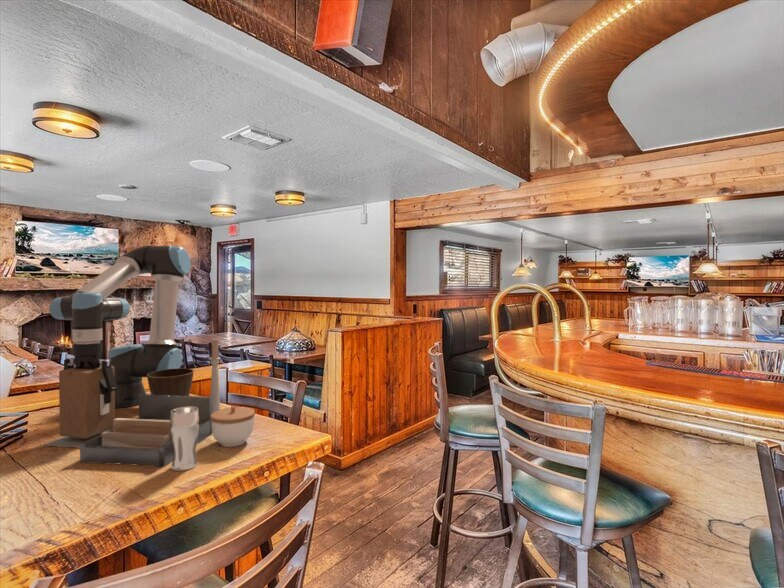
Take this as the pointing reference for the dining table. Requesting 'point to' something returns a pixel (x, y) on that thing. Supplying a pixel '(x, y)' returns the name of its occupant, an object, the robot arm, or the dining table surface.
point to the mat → (70, 441)
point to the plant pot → (171, 382)
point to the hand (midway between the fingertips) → (88, 413)
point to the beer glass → (184, 437)
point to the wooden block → (83, 403)
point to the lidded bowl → (232, 425)
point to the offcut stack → (137, 433)
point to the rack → (154, 410)
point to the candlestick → (215, 377)
